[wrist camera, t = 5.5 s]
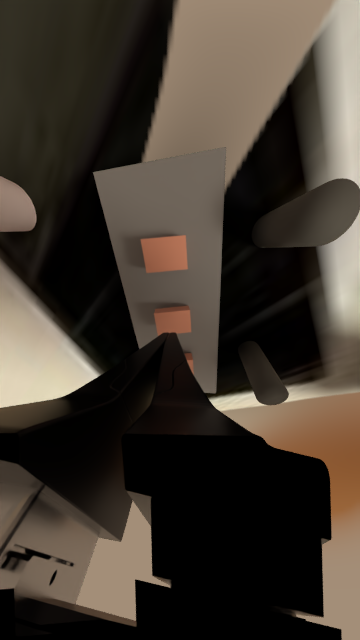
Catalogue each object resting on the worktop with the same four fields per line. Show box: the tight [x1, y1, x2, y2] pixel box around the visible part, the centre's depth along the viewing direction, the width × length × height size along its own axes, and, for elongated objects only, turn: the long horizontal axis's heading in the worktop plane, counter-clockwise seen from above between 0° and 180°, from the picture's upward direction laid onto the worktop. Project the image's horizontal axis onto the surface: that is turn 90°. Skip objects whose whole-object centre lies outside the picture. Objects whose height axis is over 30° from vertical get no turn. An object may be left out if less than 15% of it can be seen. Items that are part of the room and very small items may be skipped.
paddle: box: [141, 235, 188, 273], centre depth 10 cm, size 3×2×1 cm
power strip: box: [93, 147, 226, 393], centre depth 14 cm, size 8×20×3 cm, turn 5°
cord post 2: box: [252, 179, 360, 248], centre depth 9 cm, size 2×2×6 cm
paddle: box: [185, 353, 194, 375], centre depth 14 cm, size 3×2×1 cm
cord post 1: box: [238, 341, 289, 405], centre depth 14 cm, size 2×2×6 cm
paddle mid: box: [154, 306, 191, 336], centre depth 12 cm, size 3×2×1 cm
